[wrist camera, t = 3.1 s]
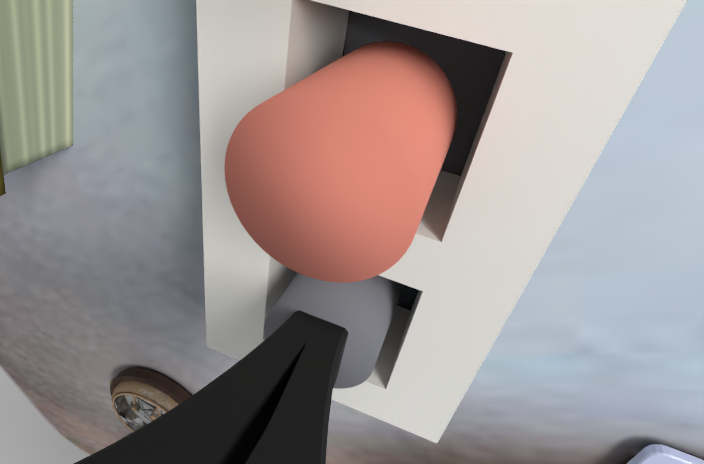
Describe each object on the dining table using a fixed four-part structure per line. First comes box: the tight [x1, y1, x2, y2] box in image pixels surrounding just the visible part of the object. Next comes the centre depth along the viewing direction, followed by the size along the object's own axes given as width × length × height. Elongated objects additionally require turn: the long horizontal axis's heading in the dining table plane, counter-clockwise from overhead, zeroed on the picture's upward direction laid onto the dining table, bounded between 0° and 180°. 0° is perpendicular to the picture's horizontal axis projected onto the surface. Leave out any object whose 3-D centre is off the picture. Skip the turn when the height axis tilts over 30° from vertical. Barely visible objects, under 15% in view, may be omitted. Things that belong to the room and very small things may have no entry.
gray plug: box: [264, 273, 404, 389], centre depth 13 cm, size 3×3×4 cm
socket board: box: [196, 0, 687, 443], centre depth 10 cm, size 18×8×4 cm, turn 170°
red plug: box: [224, 41, 457, 283], centre depth 8 cm, size 3×3×4 cm
